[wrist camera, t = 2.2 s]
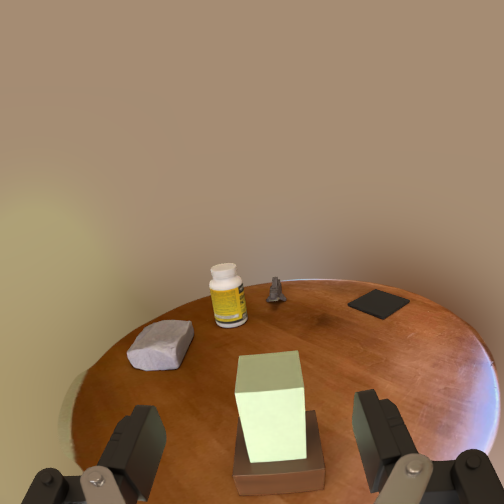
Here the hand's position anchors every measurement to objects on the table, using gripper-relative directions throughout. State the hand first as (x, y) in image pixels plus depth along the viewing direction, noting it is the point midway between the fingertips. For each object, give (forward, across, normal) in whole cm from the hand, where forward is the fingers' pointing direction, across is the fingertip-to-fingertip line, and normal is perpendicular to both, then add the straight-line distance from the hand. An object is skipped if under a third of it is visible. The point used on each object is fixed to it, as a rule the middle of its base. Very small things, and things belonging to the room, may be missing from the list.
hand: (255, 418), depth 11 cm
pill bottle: (+46, -8, -19) cm, 50 cm away
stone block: (+36, -19, -19) cm, 45 cm away
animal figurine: (+54, +1, -19) cm, 57 cm away
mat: (+45, +21, -19) cm, 53 cm away
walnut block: (+11, 0, -19) cm, 22 cm away
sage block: (+11, 0, -15) cm, 19 cm away
